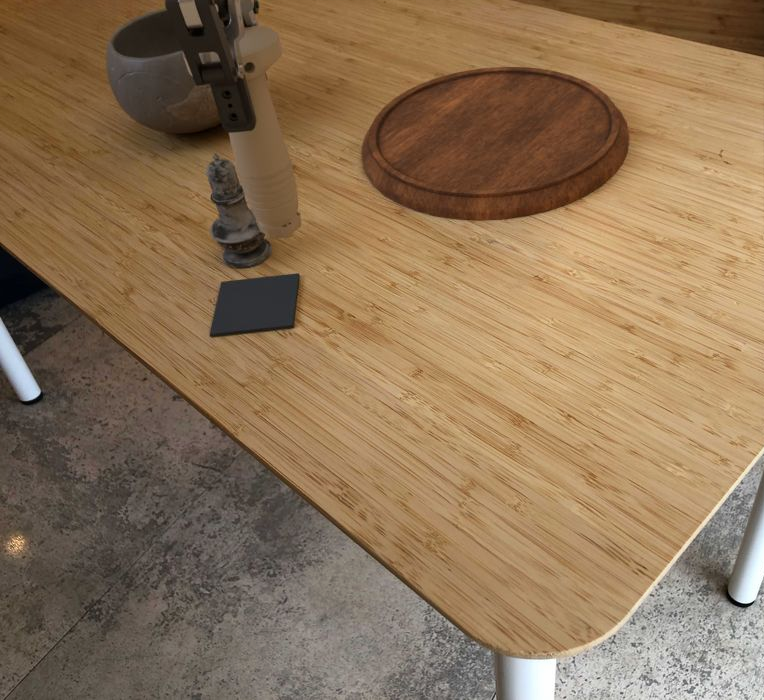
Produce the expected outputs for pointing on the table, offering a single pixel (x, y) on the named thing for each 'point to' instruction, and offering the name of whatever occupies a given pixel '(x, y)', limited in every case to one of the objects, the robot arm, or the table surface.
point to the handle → (264, 142)
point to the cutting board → (495, 143)
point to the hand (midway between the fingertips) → (247, 106)
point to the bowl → (157, 77)
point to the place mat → (255, 305)
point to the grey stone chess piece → (234, 218)
